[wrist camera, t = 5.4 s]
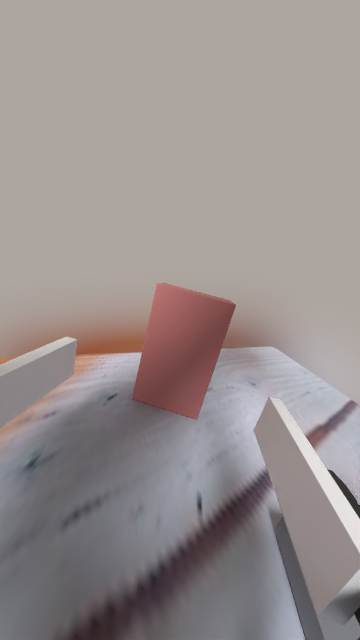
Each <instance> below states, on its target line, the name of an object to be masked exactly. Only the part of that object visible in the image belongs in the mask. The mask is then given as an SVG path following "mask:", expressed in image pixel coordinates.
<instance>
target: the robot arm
mask: <svg viewBox="0 0 360 640" xmlns="http://www.w3.org/2000/svg"><path fill="white" fill-rule="evenodd" d="M76 344H77V339H73V338H70V337H64V338H62V339H60V340H57V341H55V342H52V343H50V344H48V345H45V346H43V347H41V348H38V349H36V350H34V351H31V352H29V353H26V354H24V355H22V356H19V357H17V358H15V359H12V360H10V361H7V362H5V363H3V364H0V428H2V427H3V426H4V425H6V424H7V423H9V422H10V421H11V420H13V419H14V418H15V417H17V416H18V415H19V414H21V413H22V412H23V411H25V410H26V409H27V408H29V407H30V406H31V405H33V404H34V403H36V402H37V401H38V400H40V399H41V398H42V397H44V396H45V395H46V394H48V393H49V392H50V391H52V390H53V389H54V388H56V387H57V386H58V385H60V384H61V383H63V382H64V381H65V380H67V379H68V378H69V377H71V376H72V375H73V374H74V364H75V355H76V346H77V345H76ZM254 432H255V435H256V438H257V441H258V444H259V447H260V450H261V453H262V455H263V458H264V461H265V464H266V467H267V470H268V473H269V476H270V479H271V481H272V484H273V487H274V490H275V493H276V496H277V499H278V502H279V504H280V507H281V510H282V513H283V516H284V519H285V522H286V525H287V528H288V530H289V533H290V536H291V539H292V542H293V545H294V548H295V551H296V553H297V556H298V559H299V562H300V565H301V568H302V571H303V574H304V577H305V579H306V582H307V585H308V588H309V591H310V594H311V597H312V600H313V602H314V605H315V608H316V611H317V614H318V616H320V617H323V618H325V619H328V620H331V621H334V622H336V623H339V624H342V625H345V624H346V623H347V622H348V621H349V620H350V619H351V618H352V617H353V616H354V615H355V617H356V619H357V621H358V623H359V625H360V505H358V504H357V501H356V499H355V498H354V496H353V495H352V493H351V492H350V491H349V489H348V488H347V486H346V485H345V484H344V483H343V482H342V481H341V480H340V479H339V478H338V477H337V476H336V474H335V473H334V472H333V471H331V470H328V469H326V467H325V466H324V464H323V463H322V461H321V460H320V458H319V457H318V455H317V454H316V452H315V450H314V449H313V447H312V446H311V444H310V443H309V441H308V440H307V438H306V437H305V435H304V434H303V432H302V431H301V429H300V428H299V426H298V425H297V423H296V422H295V420H294V419H293V417H292V416H291V414H290V413H289V411H288V410H287V408H286V407H285V405H284V404H283V402H282V401H281V400H279V399H276V398H273V397H269V398H268V400H267V402H266V404H265V407H264V409H263V411H262V413H261V415H260V418H259V420H258V422H257V424H256V426H255V429H254ZM357 640H360V637H359V638H358V639H357Z"/></svg>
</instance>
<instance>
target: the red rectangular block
mask: <svg viewBox="0 0 360 640" xmlns="http://www.w3.org/2000/svg"><path fill="white" fill-rule="evenodd" d="M235 306H236V305H235V304H234V303H233V302H231V301H229V300H226V299H222V298H218V297H215V296H211V295H207V294H203V293H200V292H196V291H192V290H189V289H185V288H181V287H177V286H173V285H170V284H166V283H161V284H160V283H159V284H157V286H156V291H155V296H154V300H153V305H152V309H151V314H150V319H149V323H148V328H147V333H146V337H145V342H144V346H143V351H142V356H141V360H140V365H139V370H138V374H137V379H136V384H135V388H134V393H133V397H132V399H133V400H136V401H139V402H142V403H146V404H149V405H152V406H155V407H158V408H161V409H165V410H168V411H171V412H174V413H177V414H180V415H183V416H187V417H190V418H193V419H196V420H197V417H198V414H199V411H200V409H201V406H202V403H203V400H204V397H205V394H206V391H207V388H208V385H209V382H210V379H211V376H212V373H213V371H214V368H215V365H216V362H217V359H218V356H219V353H220V350H221V347H222V344H223V341H224V338H225V336H226V333H227V330H228V327H229V324H230V321H231V318H232V315H233V312H234V309H235Z"/></svg>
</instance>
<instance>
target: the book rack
mask: <svg viewBox="0 0 360 640" xmlns="http://www.w3.org/2000/svg"><path fill="white" fill-rule="evenodd" d="M275 533H276V537H277V540H278V544H279V547H280V551H281V554H282V558H283V561H284V565H285V568H286V572H287V575H288V578H289V582H290V585H291V589H292V592H293V596H294V599H295V603H296V606H297V610H298V613H299V617H300V620H301V624H302V627H303V631H304V634H305V638H306V640H357V639H358V638H359V637H360V625H359V623H358V621H357V619H356V617H355V615H354V616H353V617H352V618H351V619H350V620H349V621H348V622H347V623H346V624H345V625H342V624H339V623H336V622H334V621H331V620H328V619H325V618H323V617H320V616H318V614H317V611H316V608H315V605H314V602H313V600H312V597H311V594H310V591H309V588H308V585H307V582H306V579H305V577H304V574H303V571H302V568H301V565H300V562H299V559H298V556H297V553H296V551H295V548H294V545H293V542H292V539H291V536H290V533H289V530H288V528H287V525H286V522H285V519H284V517H283V518H282V519H281V521H280V522H279V524H278V526H277V527H276V529H275Z"/></svg>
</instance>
